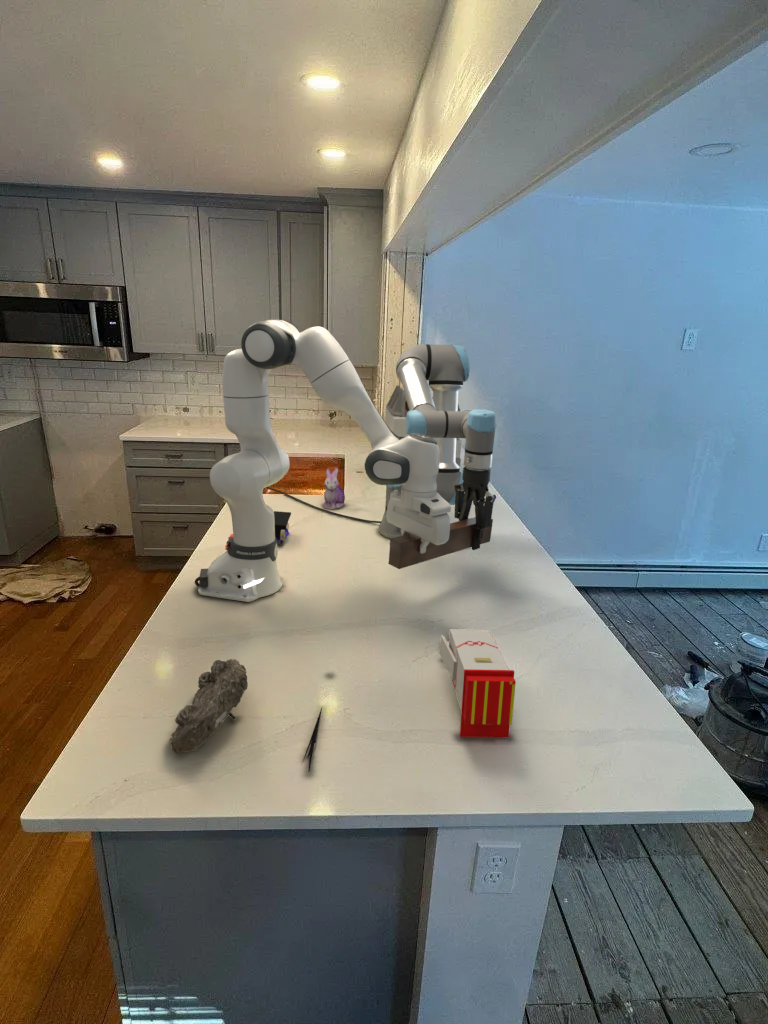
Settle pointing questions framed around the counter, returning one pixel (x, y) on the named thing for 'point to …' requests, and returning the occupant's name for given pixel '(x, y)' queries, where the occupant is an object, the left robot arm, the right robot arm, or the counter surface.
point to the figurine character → (281, 525)
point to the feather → (313, 740)
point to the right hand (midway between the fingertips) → (469, 545)
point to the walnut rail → (459, 539)
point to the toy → (479, 682)
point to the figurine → (333, 491)
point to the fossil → (210, 704)
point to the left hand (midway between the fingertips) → (414, 548)
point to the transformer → (397, 417)
